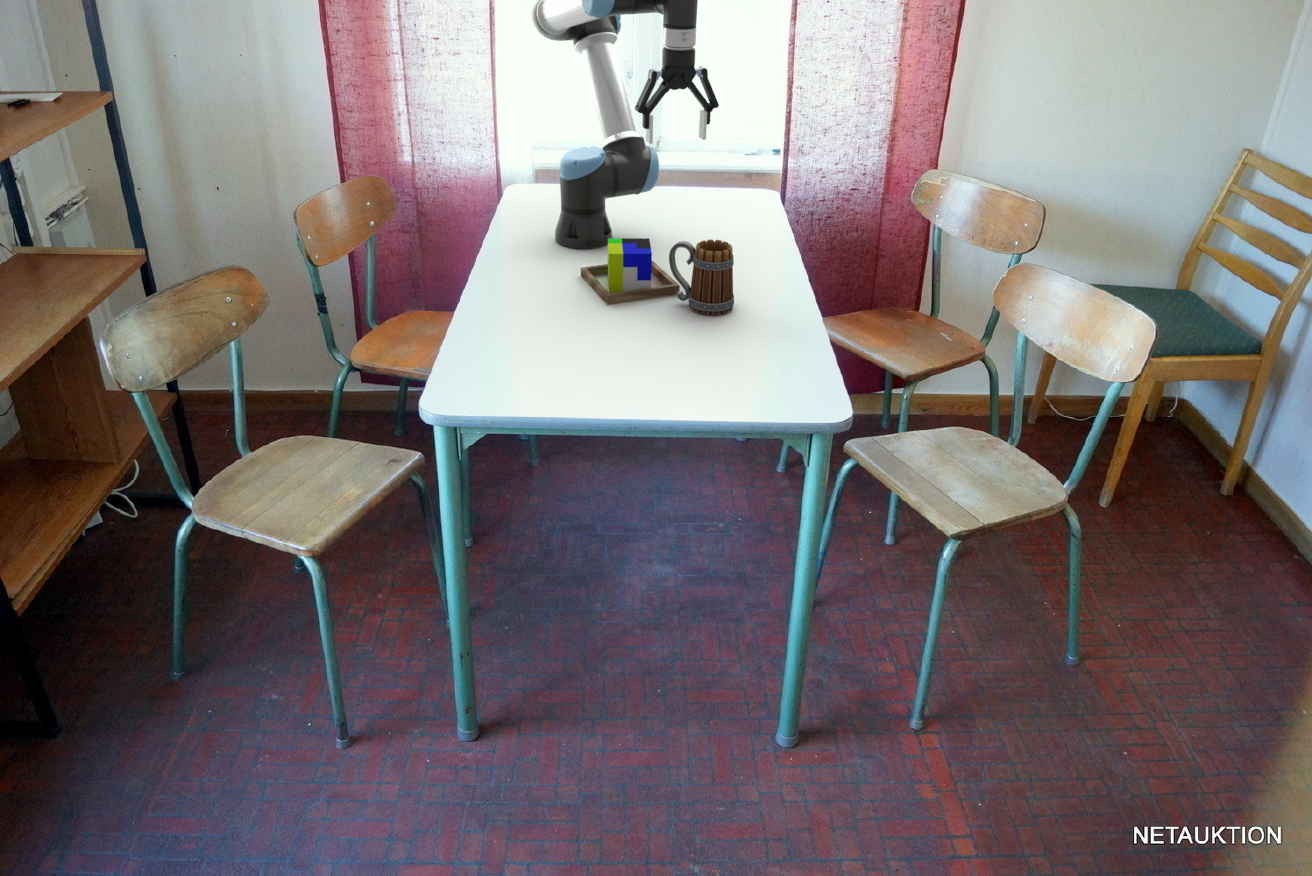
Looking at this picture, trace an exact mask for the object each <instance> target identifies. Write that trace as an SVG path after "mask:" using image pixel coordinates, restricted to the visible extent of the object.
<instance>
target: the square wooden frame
mask: <svg viewBox="0 0 1312 876" xmlns="http://www.w3.org/2000/svg"><path fill="white" fill-rule="evenodd" d="M605 275H607V276H608V263H606V264H598V265H591V266H590V265H589V266H583V267H580V277H581V278H582V279H583V280H584V282H585V283H586V284H587V285H588V286H589V287H590V288H591V289H592V290H593V292H595V293H596V295H597V296H598V297H599V298H600V299H601V301H603V302H604V303H605V304H606V306H608V305H616V304H623V303H629V302H635V301H642V300H643V301H644V300H648V299H654V298H655V299H656V298H663V297H668V296H675V295H676V296H677V293H678V291H681V285H680V283H679V282H678V281H677V280H676V279H674V278H673V277H671V275H669V274H668V273H667V272H666V271H665V270H663V269H662V268H661V267H660V265H658V264H657V263H656V262H655V261H654V260H652V269H651V275H653V276H654V277H655V278H657V280H659V282H661V283H662V284H663V285H659V286H651V288H644V289H637V290H630V291H623V292H617V293H609V290H608V289H607V288H606V287H604V285H603V284H602V283H601V282H600V281H599V280H598V279H597V277H599V276H605Z"/></svg>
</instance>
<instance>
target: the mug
mask: <svg viewBox="0 0 1312 876" xmlns="http://www.w3.org/2000/svg"><path fill="white" fill-rule="evenodd" d="M679 248H684V249H685V250H687V251H688V253H689V258H688V259H687V260H686V264H687V265H688V266H690V265H691V264H693V266H692V275H691V280H690V281H691V284H690V283H689V282H688V281H687V280H686V279H685V278H684V277H683V275H682V274H681V272H680V270H679V268H678V267H677V263H676V252H677V249H679ZM734 261H735V260H734V255H733V245H732V244H731V243H729V242H728V241H725V240H724V241H722V240H721V239H715V241H714V239H707V240H701V241H700V242H697V243H696V245H695V246H694V245H693V244H692V243H690V241H689V242H688V241H685V240H682V241H681V240H680V241H678V242H676V243H675V244H674V245H673V246H672V247H671V248H670V250H669V254H668V263H669V268H670V272H671V274H672V276H673V277H674V280H675V281H676V282H677V283H678V284H679V285H680V287H682V288H683V290H684V291H682V290H680V291H678V293H677V294H676V297H677V299H678V300H680V301H681V302H682V301H683V302H685V301H687V302H688V307H689V309H690V310H691V311H693V312H694V313H697V314H699V315H702V316H708V317H710V316H711V317H716V316H722V315H726V314H728V313H730V312H731V311H732V310H733V308H734V304H735V295H734V276H733V275H734V272H733V271H734V270H733V269H734V267H733V266H734ZM684 292H685V293H684Z"/></svg>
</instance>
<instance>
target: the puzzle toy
mask: <svg viewBox="0 0 1312 876" xmlns="http://www.w3.org/2000/svg"><path fill="white" fill-rule="evenodd" d="M650 239H651V238H646V237H645V238H638V237H637V238H636V237H635V238H632V237H631V238H629V237H628V238H625V237H624V238H621V237H620V238H613V237H612V238H608V244H607V264H608V274H607V283H608V285H607V286H608V292H609V293H617V292H623V291H630V290H637V289H644V288H651V287H652V273H651V269H652V261H653V257H652V256H653V254H652V253H653V252H652V246H651V241H650Z"/></svg>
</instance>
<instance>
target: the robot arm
mask: <svg viewBox="0 0 1312 876" xmlns="http://www.w3.org/2000/svg"><path fill="white" fill-rule="evenodd" d="M698 3H699V2H698V0H536V1H535V2H534V3H533V6H532V8H531V12H530V13H531V14H530V17H531V22H532V26H533V28H534V29H535V30H536V32H537V33H538V34H539V35H541V36H542V37H543V38H544V39H547V40H551V41H557V42H562V41H563V42H566V41H572V42H573V47H574V49H575V51H576V52H578V53H580V54H581V56H582V58H583V62H584V66H585V70H586V74H587V77H588V81H589V85H590V88H591V89H590V90H591V93H592V96H593V99H594V100H593V101H594V105H595V108H596V112H597V115H598V120H599V123H600V127H601V130H602V134H603V139H604V143H603V145H602V147H598V146H589V147H588V146H581V147H576V148H573V149H570V150H568V151H567V152H565V153H564V154H563V155H562V156H561V158H560V162H559V175H558V176H559V184H560V185H559V189H560V206H561V207H560V213H559V217H558V220H557V224H556V226H555V231H554V235H555V236H554V239H555V240H554V241H555V242H556V243H557V244H558V245H560V246H563V247H566V248H569V249H570V248H571V249H579V250H585V249H586V250H589V249H596V248H602V247H604V246H606V245H607V246H608V238H613V229H612V227H611V223H610V220H609V218H608V214H607V211H606V199H609V198H610V199H611V198H619V197H624V196H631V195H639V194H642V193H647V192H650V191H651V190H652V189H653V188H654V187H655V186H656V184H657V182H658V178H659V175H660V174H659V173H660V161H659V157H658V153H657V151H656V150H655V148H654V147H652V146H649V145H650V144H651V145H652V144H653V141H654V140H653V139H654V115H653V114H652V112H653V110H654V109H655V108H656V107H657V105H658V104H659V103H660V101H661V100H662V99H663V97H664V96H665V95H666V93H668V92H669V91H671V90H672V91H677V90H686V89H689V91H690V92H691V94H692V95H693V96H694V98H695V99H696V100H697V101H698V103H699V104H700V105H701V107H702V108H700V109H699V123H698V124H699V125H698V126H699V127H698V138H700V139H702V140H703V141H704V140H707V126H708V125H710V124H711V113H712V112H713V109H717V108H719V102H718V99H717V97H716V94H715V92H714V90H713V87H712V85H711V83H710V79H709V75H708V74H709V72H708V69H707V68H706V67H704V66H703V65H701V66H699V67H697V68H695V64H696V49H695V48H694V47H695V46H696V43H697V22H698V21H697V20H698V19H697V18H698V17H697V16H698ZM654 13H655V14H660V15H663V18H662V19H663V20H662V21H663V25H662V45H663V48H662V59H661V60H662V62H661V63H662V64H661V65H662V67H661V70H654V69H653V68H651V69H649V70H648V74H647V75H648V76H647V80H646V82H645V84H644V87H643V89H642V90H641V93H640V95H639V98H638V100H637V102H636V104H635V106H634V110H635V111H636V112H638V113H639V114H642V128H643V129H644V130H645V139H644V136H642V135H640V134H639V133H637V129H636V126H635V123H634V119H633V115H632V111H631V108H630V103H629V100H628V97H627V93H626V88H625V83H624V79H623V76H622V74H621V69H620V65H619V61H618V58H617V55H616V54H617V53H616V50H615V47H614V46H615V44H616V42H617V41H618V35H619V33H620V32H621V27H622V22H621V20H622V16H623V15H640V14H641V15H642V14H654ZM696 76H697V77H698V78H699V81H700V82H701V83H700V84H702V87H703V90H704V92H705V95H706V98H707V100H708V101H707V100H706V98H705V97H704V96H703V94H702V93H701V92H700V90H699V89H698V88H697V86H696V84H695V83H694V82H693V80H694V78H695V77H696ZM660 77H661V79H662V81H661V82H660V84H659V85H658V88H657V89H656V91H655V92H653V90H654V89H655V86H656V83H657V81H658V80H659V79H660ZM652 92H653V95H652V96H651V94H652ZM646 142H647V143H648V144H649V145H646Z"/></svg>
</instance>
